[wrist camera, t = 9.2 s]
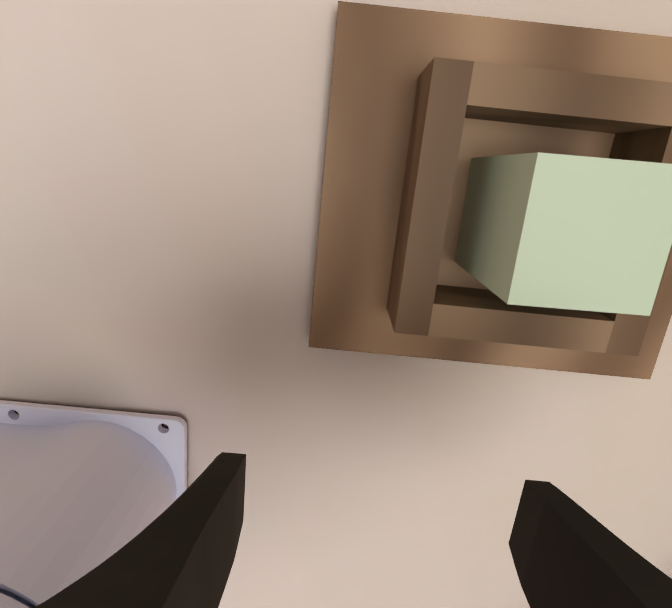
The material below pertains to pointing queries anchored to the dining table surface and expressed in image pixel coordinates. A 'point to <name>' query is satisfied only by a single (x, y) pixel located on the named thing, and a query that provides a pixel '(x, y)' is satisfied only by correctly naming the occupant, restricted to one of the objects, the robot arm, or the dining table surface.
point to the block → (568, 230)
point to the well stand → (452, 176)
